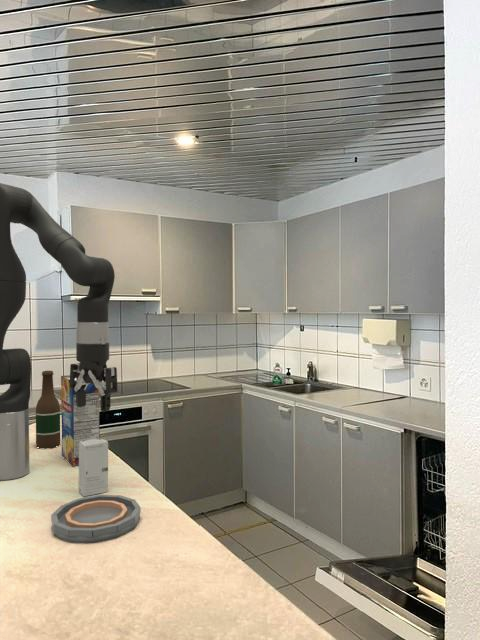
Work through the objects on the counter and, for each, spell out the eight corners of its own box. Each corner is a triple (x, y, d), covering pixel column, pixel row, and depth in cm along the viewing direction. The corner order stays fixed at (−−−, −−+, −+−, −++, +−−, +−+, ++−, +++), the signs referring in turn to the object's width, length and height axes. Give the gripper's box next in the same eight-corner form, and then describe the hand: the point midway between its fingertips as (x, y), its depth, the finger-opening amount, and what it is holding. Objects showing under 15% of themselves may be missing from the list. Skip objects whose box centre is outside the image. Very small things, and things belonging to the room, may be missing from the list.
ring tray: (34, 528, 96) (34, 516, 95) (101, 499, 110) (101, 489, 110) (91, 551, 86) (91, 538, 86) (156, 517, 101) (156, 505, 100)
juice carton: (61, 456, 142) (60, 375, 142) (87, 452, 147) (86, 373, 146) (73, 467, 132) (72, 380, 132) (99, 462, 137) (99, 378, 136)
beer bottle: (55, 449, 149) (54, 372, 149) (30, 449, 150) (29, 372, 149) (65, 442, 157) (64, 369, 157) (41, 442, 157) (40, 369, 157)
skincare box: (83, 497, 111) (82, 445, 111) (78, 491, 115) (77, 441, 115) (109, 491, 115) (109, 441, 114) (103, 486, 118) (103, 437, 118)
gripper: (60, 340, 115) (60, 407, 115) (100, 343, 107) (100, 415, 107) (86, 338, 121) (86, 402, 121) (125, 341, 113) (125, 409, 114)
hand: (93, 408), depth 114 cm, fingers open, 8 cm apart
